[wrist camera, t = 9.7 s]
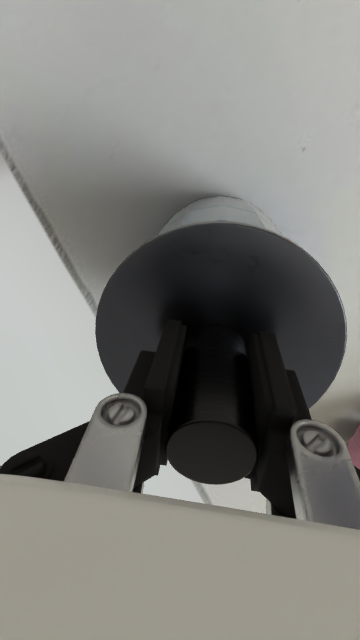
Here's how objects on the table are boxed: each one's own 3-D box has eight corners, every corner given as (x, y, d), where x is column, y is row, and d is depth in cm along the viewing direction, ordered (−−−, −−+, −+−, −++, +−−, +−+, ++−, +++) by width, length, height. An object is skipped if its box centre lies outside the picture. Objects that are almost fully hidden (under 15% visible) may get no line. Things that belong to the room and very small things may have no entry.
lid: (107, 406, 16) (49, 530, 11) (99, 204, 12) (-8, 245, 6) (302, 434, 15) (344, 582, 10) (375, 232, 11) (526, 306, 6)
